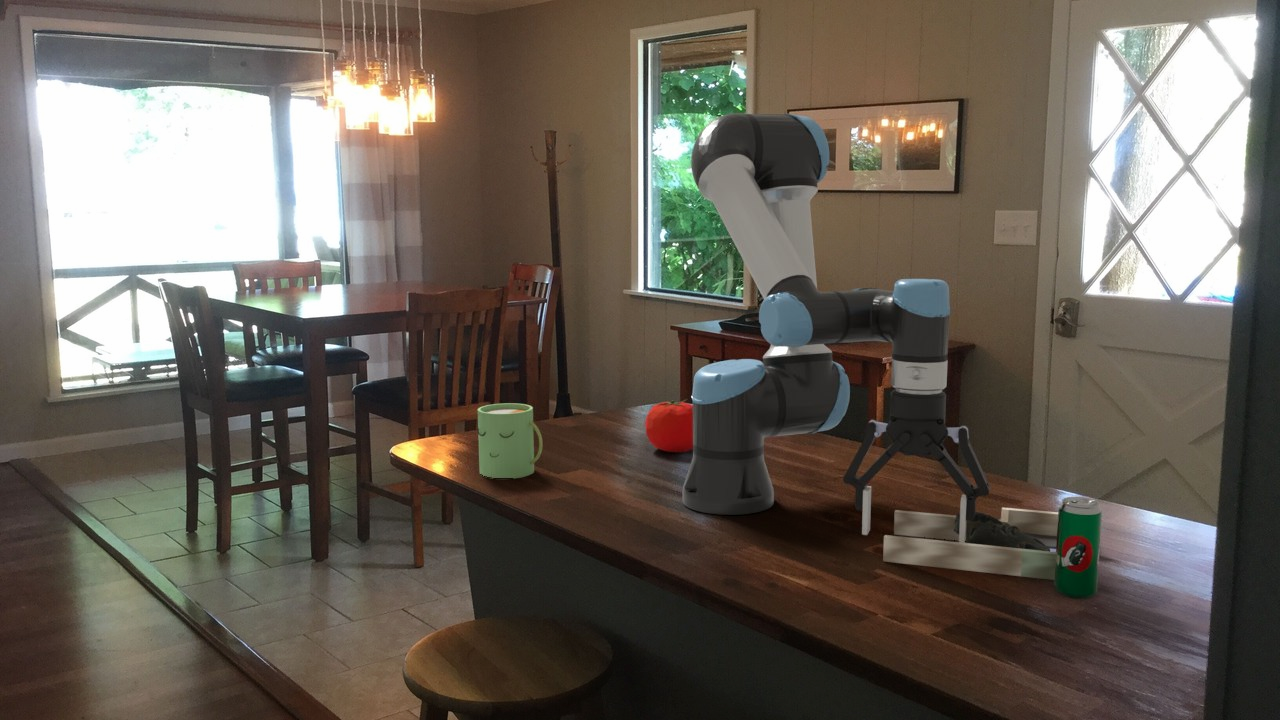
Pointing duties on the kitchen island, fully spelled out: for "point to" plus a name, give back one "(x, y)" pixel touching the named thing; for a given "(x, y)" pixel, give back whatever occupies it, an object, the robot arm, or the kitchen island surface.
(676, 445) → the tomato
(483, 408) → the mug
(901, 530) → the channel
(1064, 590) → the soda can
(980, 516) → the stone
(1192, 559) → the kitchen island surface
